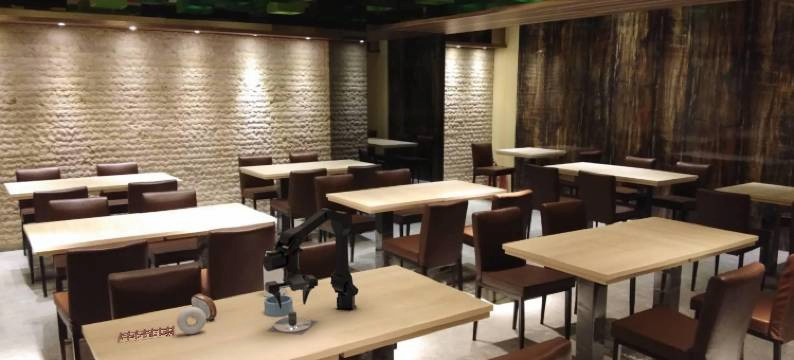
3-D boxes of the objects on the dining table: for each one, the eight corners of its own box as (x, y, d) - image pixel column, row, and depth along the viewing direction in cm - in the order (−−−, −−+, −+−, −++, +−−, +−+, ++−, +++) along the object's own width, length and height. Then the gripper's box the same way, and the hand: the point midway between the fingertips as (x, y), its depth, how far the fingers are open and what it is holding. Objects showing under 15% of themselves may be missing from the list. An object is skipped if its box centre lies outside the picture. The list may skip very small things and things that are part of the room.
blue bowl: (297, 309, 247) (296, 296, 246) (284, 318, 236) (284, 305, 236) (272, 307, 250) (272, 293, 249) (259, 316, 239) (259, 302, 239)
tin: (217, 320, 235) (216, 299, 234) (210, 323, 233) (209, 301, 232) (197, 311, 245) (196, 291, 244) (190, 313, 243) (189, 293, 242)
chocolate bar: (118, 336, 221) (118, 331, 221) (174, 329, 228) (174, 324, 227) (116, 343, 215) (116, 338, 214) (174, 336, 221) (174, 331, 221)
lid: (317, 320, 233) (316, 308, 232) (301, 334, 220) (301, 321, 219) (284, 317, 237) (284, 305, 236) (267, 330, 224) (266, 317, 223)
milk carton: (279, 297, 261) (278, 254, 259) (264, 296, 263) (262, 253, 260) (286, 292, 268) (284, 250, 266) (270, 291, 270) (269, 249, 267)
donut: (206, 330, 226) (204, 303, 224) (207, 333, 223) (206, 306, 221) (177, 334, 222) (175, 307, 220) (178, 337, 219) (176, 310, 217)
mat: (317, 322, 233) (317, 320, 233) (301, 335, 220) (301, 334, 220) (284, 318, 237) (284, 317, 237) (266, 331, 224) (266, 330, 224)
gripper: (272, 274, 214) (274, 317, 216) (323, 267, 222) (324, 308, 225) (263, 267, 223) (265, 308, 226) (312, 260, 232) (313, 299, 234)
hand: (292, 306), depth 227 cm, fingers open, 9 cm apart
